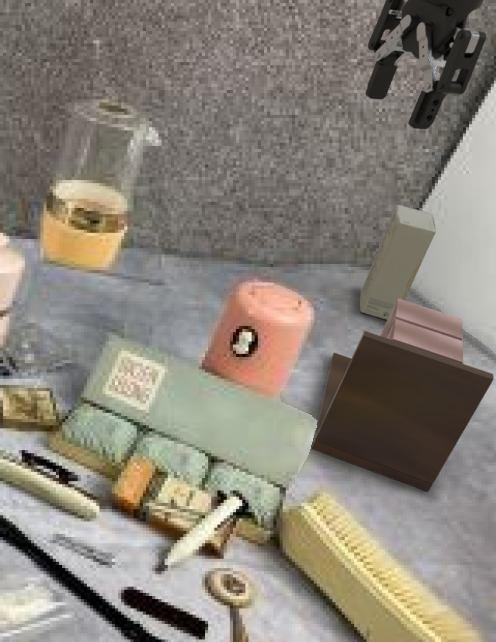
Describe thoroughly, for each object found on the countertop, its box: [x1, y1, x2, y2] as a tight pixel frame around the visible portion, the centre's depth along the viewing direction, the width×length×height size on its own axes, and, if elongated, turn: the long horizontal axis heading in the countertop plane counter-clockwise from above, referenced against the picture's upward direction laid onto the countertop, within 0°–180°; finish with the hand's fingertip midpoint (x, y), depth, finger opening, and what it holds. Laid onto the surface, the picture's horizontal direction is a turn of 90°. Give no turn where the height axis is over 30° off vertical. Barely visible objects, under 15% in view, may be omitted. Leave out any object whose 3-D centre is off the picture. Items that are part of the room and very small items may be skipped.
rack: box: [311, 298, 494, 492], centre depth 91 cm, size 18×11×13 cm, turn 158°
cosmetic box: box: [359, 204, 437, 321], centre depth 112 cm, size 6×4×12 cm
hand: (395, 112), depth 100 cm, fingers open, 8 cm apart
